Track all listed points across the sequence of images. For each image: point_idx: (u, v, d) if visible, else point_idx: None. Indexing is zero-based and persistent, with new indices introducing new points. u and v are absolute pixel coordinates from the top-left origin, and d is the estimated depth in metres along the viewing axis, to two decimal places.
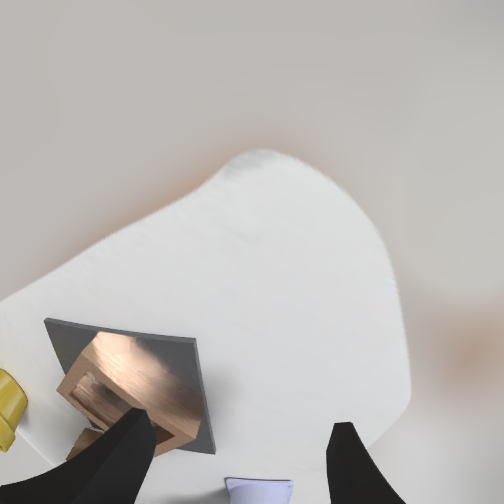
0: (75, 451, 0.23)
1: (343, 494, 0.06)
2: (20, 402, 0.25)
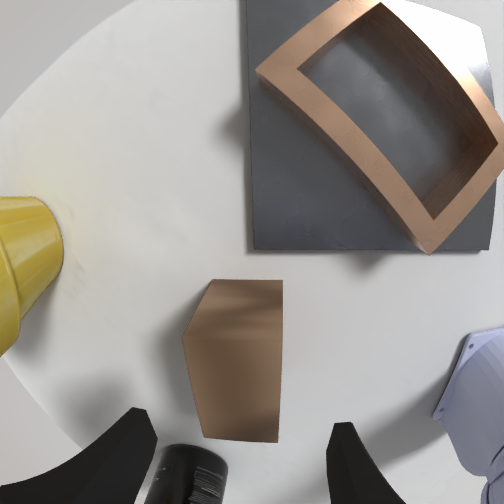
0: (206, 316, 0.13)
1: (343, 494, 0.06)
2: (50, 249, 0.15)
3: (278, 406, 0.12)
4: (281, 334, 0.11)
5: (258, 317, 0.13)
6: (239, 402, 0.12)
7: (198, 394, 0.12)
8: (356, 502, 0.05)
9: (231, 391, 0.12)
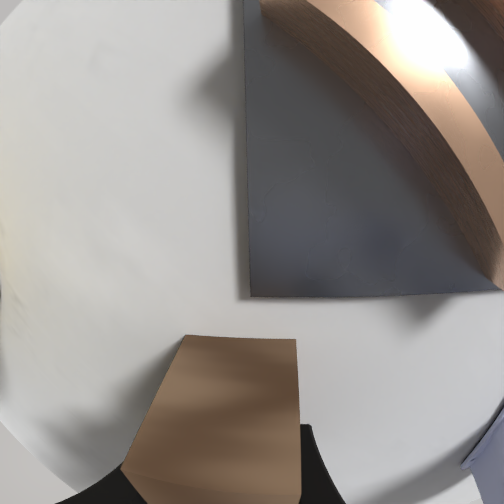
0: (165, 423, 0.06)
1: None
2: None
3: None
4: (299, 476, 0.05)
5: (256, 432, 0.06)
6: None
7: None
8: None
9: None
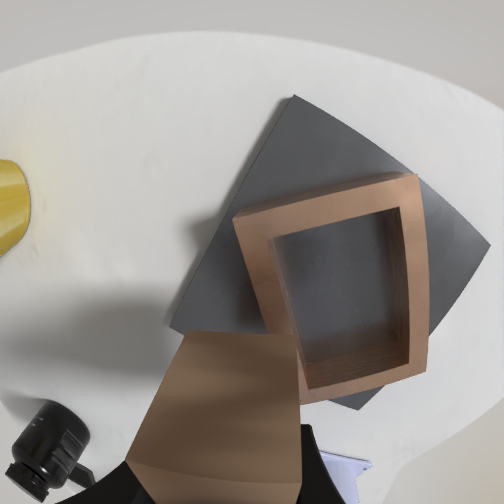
0: (169, 415, 0.07)
1: None
2: (16, 230, 0.15)
3: None
4: (300, 465, 0.05)
5: (258, 423, 0.06)
6: None
7: None
8: None
9: None
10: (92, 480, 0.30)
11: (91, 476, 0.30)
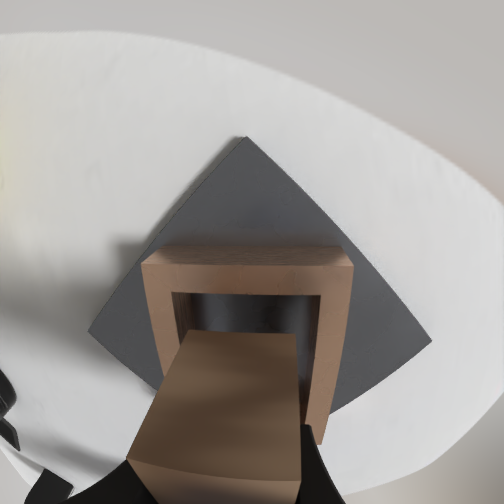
0: (170, 414, 0.07)
1: None
2: None
3: None
4: (299, 463, 0.05)
5: (257, 421, 0.06)
6: None
7: None
8: None
9: None
10: (15, 438, 0.28)
11: (14, 434, 0.27)
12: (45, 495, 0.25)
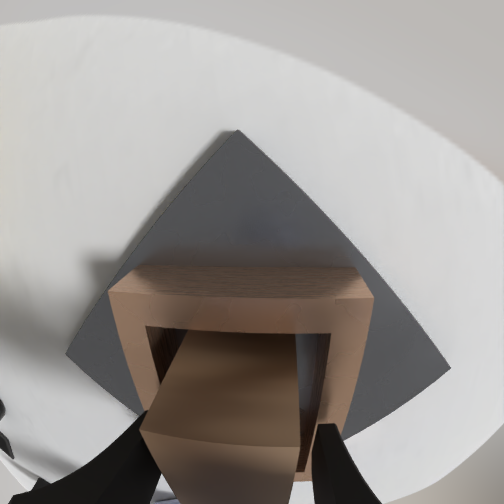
0: (179, 390, 0.08)
1: (324, 496, 0.06)
2: None
3: (287, 501, 0.07)
4: (298, 431, 0.06)
5: (260, 395, 0.07)
6: (232, 497, 0.07)
7: (175, 484, 0.07)
8: None
9: (220, 488, 0.07)
10: (8, 447, 0.25)
11: (7, 443, 0.25)
12: None
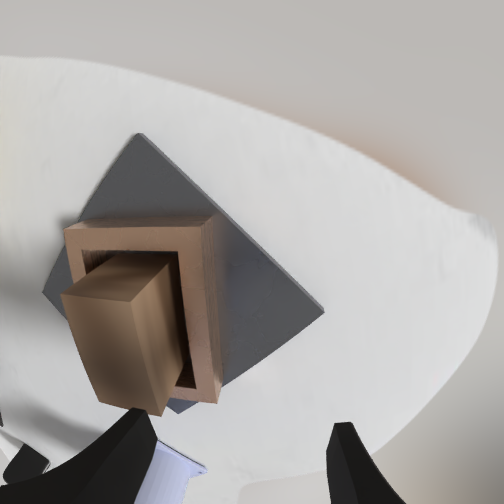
0: (89, 280, 0.13)
1: (343, 494, 0.06)
2: None
3: (146, 373, 0.12)
4: (134, 296, 0.11)
5: (127, 282, 0.13)
6: (113, 365, 0.12)
7: (82, 353, 0.12)
8: (356, 502, 0.05)
9: (104, 351, 0.12)
10: None
11: None
12: (22, 468, 0.28)
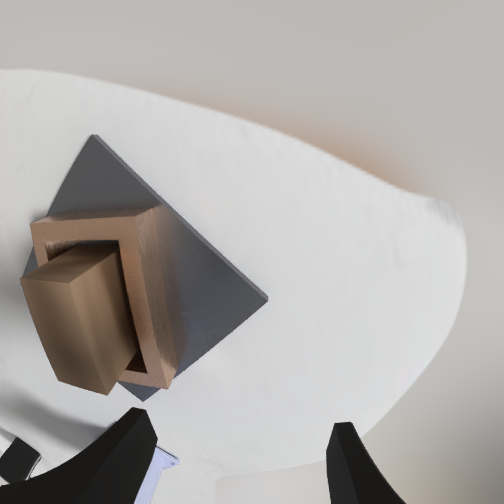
0: (46, 267, 0.13)
1: (343, 494, 0.06)
2: None
3: (89, 351, 0.12)
4: (74, 278, 0.12)
5: (74, 268, 0.13)
6: (63, 343, 0.13)
7: (40, 332, 0.13)
8: (356, 502, 0.05)
9: (55, 330, 0.12)
10: None
11: None
12: (14, 461, 0.28)
